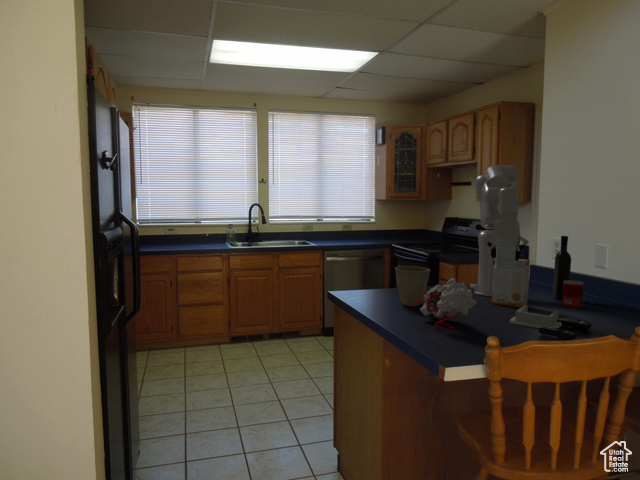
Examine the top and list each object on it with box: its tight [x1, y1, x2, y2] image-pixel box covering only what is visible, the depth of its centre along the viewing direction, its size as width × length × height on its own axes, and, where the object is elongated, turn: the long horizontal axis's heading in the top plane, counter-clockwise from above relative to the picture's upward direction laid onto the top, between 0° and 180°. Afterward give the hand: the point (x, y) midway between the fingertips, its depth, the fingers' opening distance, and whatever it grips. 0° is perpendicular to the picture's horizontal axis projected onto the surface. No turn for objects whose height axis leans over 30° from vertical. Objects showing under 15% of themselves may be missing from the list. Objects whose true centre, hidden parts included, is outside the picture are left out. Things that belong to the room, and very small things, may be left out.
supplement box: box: [495, 240, 517, 271], centre depth 191 cm, size 7×7×13 cm
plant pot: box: [394, 265, 431, 307], centre depth 200 cm, size 15×15×16 cm
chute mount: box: [509, 305, 563, 329], centre depth 174 cm, size 16×14×5 cm
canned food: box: [561, 279, 585, 309], centre depth 203 cm, size 8×8×11 cm
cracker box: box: [490, 258, 531, 309], centre depth 203 cm, size 14×6×21 cm, turn 47°
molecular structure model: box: [412, 277, 477, 330], centre depth 169 cm, size 20×18×25 cm
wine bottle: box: [552, 235, 572, 301], centre depth 217 cm, size 6×6×30 cm
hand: (505, 259), depth 191 cm, fingers closed on supplement box, 9 cm apart
